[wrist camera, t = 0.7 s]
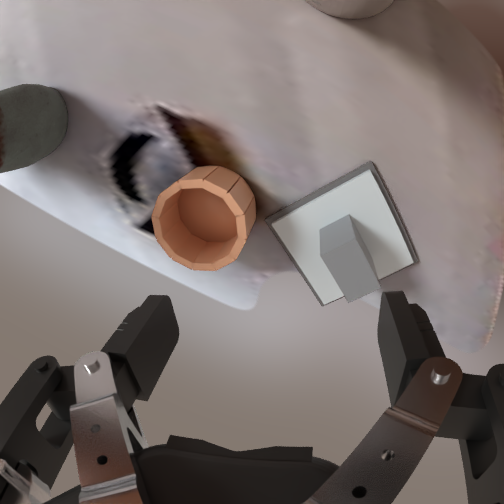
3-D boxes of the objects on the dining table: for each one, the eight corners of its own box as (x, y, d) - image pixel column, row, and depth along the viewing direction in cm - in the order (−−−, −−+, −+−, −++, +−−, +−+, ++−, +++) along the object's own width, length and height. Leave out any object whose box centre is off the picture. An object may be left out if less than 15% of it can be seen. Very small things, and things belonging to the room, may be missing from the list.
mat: (370, 160, 26) (371, 161, 25) (417, 259, 29) (418, 261, 29) (265, 218, 30) (264, 220, 30) (322, 304, 33) (322, 306, 33)
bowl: (223, 148, 28) (206, 159, 23) (272, 220, 30) (265, 244, 26) (159, 194, 31) (135, 212, 26) (207, 257, 33) (191, 284, 29)
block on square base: (369, 169, 26) (382, 187, 21) (412, 259, 29) (427, 291, 24) (272, 222, 30) (263, 250, 25) (324, 301, 33) (324, 337, 28)
